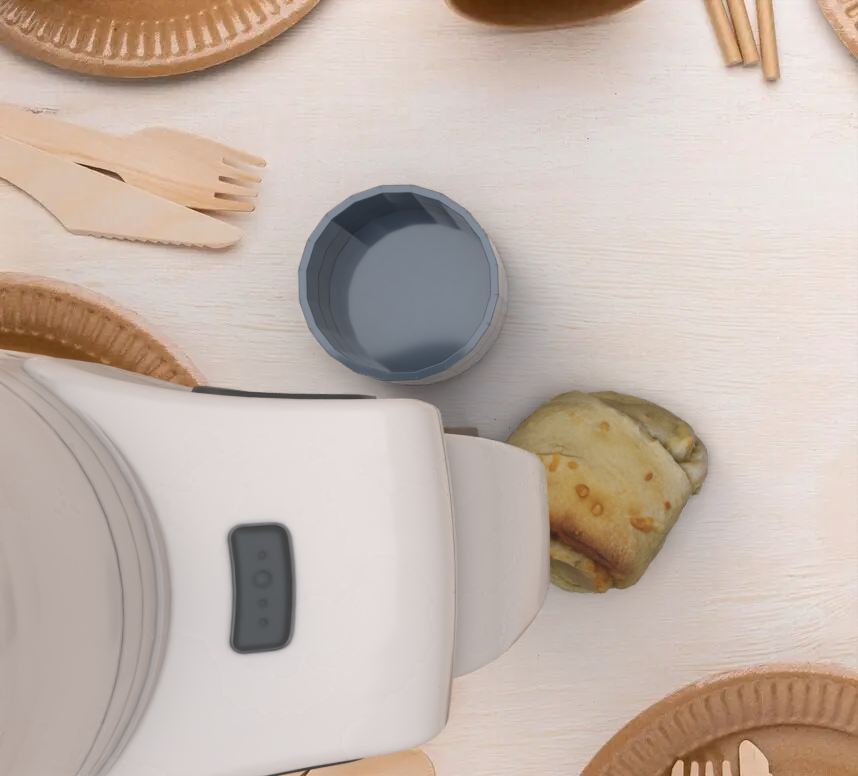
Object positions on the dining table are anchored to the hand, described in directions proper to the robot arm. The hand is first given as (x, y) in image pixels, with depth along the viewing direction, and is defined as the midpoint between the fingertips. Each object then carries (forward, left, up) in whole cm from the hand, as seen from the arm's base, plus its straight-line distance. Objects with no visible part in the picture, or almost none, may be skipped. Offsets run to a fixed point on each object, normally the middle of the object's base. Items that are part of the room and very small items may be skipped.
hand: (231, 524), depth 32 cm
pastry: (+10, -1, -34) cm, 35 cm away
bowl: (0, +11, -34) cm, 36 cm away
